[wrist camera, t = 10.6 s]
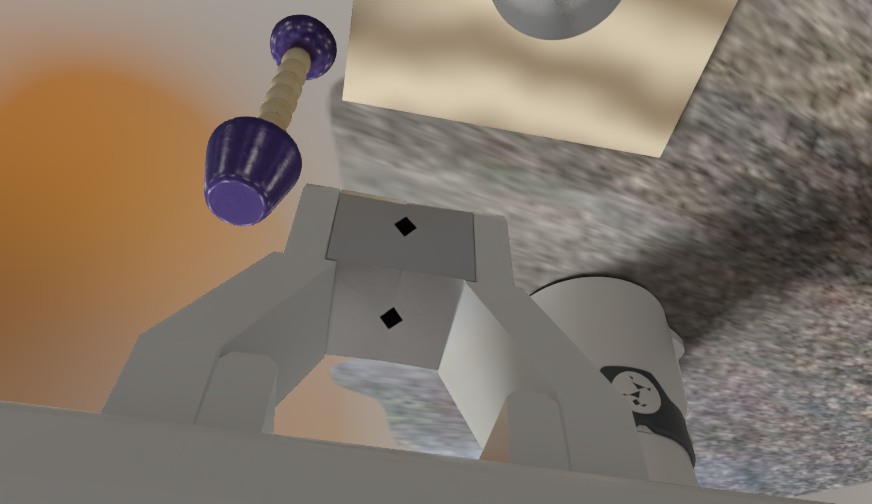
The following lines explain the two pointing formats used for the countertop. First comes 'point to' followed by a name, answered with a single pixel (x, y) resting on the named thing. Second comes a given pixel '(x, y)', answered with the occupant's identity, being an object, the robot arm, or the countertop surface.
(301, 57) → the toy lamp
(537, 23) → the silver disc with handle
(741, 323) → the countertop surface
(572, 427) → the robot arm
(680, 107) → the birch stand
